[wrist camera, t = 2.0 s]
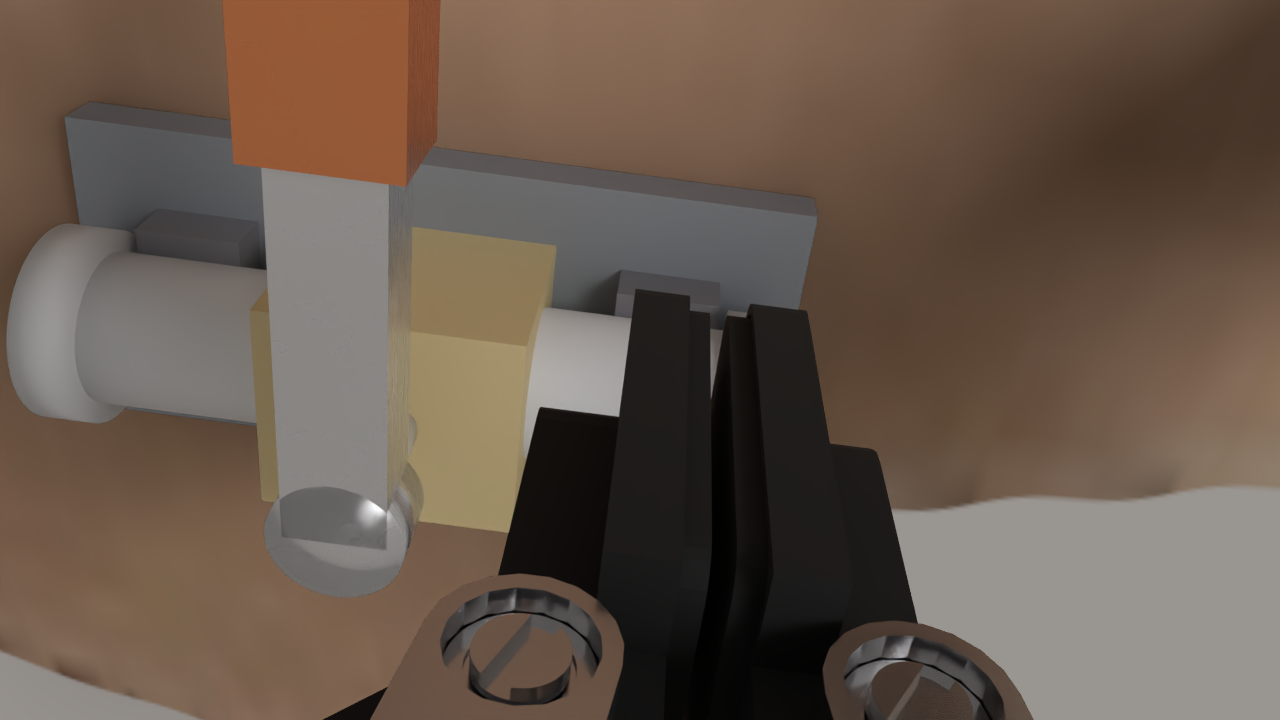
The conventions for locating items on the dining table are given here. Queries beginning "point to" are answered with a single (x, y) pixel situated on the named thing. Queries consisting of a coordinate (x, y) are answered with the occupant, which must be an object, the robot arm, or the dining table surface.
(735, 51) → the dining table surface
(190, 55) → the dining table surface
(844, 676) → the robot arm
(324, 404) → the valve lever
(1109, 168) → the dining table surface
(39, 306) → the valve base
